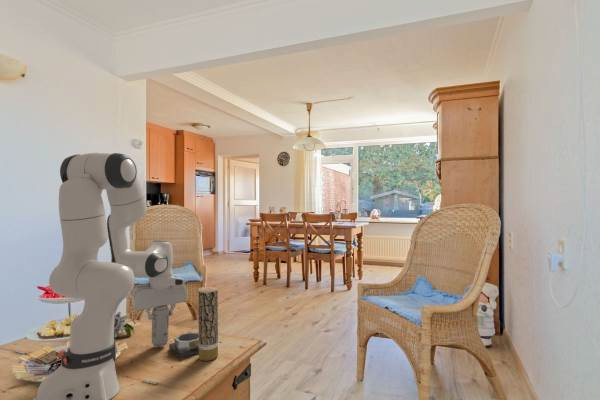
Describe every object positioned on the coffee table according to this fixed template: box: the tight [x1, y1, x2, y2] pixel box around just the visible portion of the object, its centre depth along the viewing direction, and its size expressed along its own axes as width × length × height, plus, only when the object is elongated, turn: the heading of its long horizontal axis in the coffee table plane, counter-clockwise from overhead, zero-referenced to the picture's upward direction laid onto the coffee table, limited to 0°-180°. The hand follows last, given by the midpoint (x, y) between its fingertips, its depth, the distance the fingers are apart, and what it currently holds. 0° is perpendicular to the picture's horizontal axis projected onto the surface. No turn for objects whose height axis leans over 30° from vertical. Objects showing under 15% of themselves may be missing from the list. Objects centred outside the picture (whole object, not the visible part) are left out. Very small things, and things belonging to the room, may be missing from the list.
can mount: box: [168, 331, 199, 360], centre depth 131 cm, size 11×11×5 cm
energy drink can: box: [151, 305, 170, 347], centre depth 134 cm, size 6×6×15 cm
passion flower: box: [114, 311, 136, 339], centre depth 146 cm, size 11×11×12 cm
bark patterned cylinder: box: [198, 286, 219, 362], centre depth 125 cm, size 7×7×25 cm
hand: (160, 317), depth 134 cm, fingers closed on energy drink can, 6 cm apart
